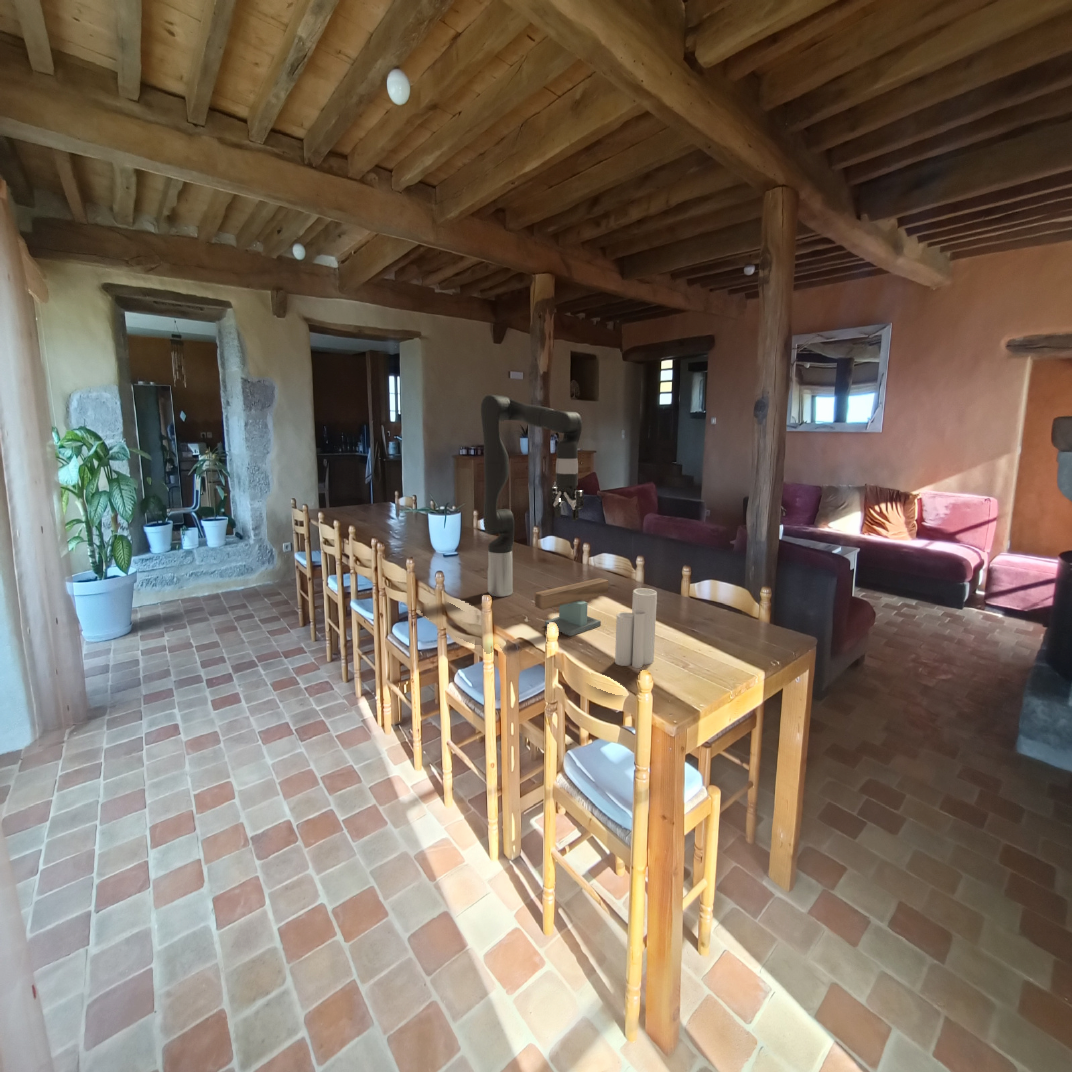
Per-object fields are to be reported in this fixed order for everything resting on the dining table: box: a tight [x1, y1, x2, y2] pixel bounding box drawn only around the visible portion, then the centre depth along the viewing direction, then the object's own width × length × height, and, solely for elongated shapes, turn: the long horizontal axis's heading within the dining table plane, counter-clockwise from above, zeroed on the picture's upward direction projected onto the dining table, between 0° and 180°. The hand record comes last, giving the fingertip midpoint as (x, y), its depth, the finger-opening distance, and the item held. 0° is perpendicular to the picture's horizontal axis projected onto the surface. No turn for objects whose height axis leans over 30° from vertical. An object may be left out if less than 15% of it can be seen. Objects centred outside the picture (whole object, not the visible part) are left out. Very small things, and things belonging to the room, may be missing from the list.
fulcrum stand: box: [544, 600, 602, 637], centre depth 177 cm, size 12×14×9 cm
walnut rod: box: [534, 577, 609, 611], centre depth 176 cm, size 4×28×4 cm, turn 127°
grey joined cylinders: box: [614, 587, 658, 669], centre depth 150 cm, size 11×7×20 cm, turn 120°
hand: (566, 518), depth 187 cm, fingers open, 8 cm apart
